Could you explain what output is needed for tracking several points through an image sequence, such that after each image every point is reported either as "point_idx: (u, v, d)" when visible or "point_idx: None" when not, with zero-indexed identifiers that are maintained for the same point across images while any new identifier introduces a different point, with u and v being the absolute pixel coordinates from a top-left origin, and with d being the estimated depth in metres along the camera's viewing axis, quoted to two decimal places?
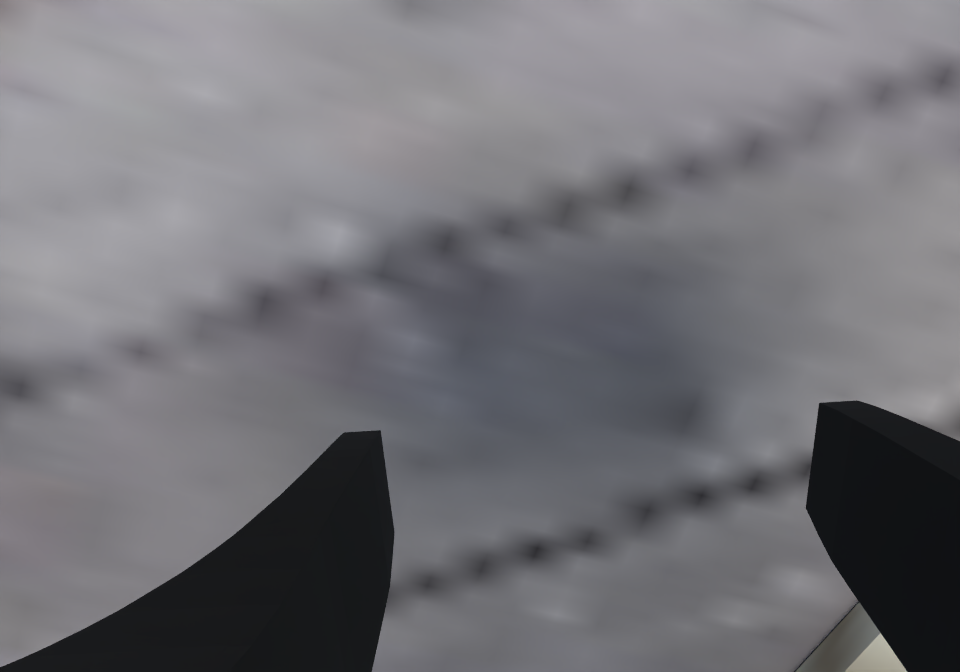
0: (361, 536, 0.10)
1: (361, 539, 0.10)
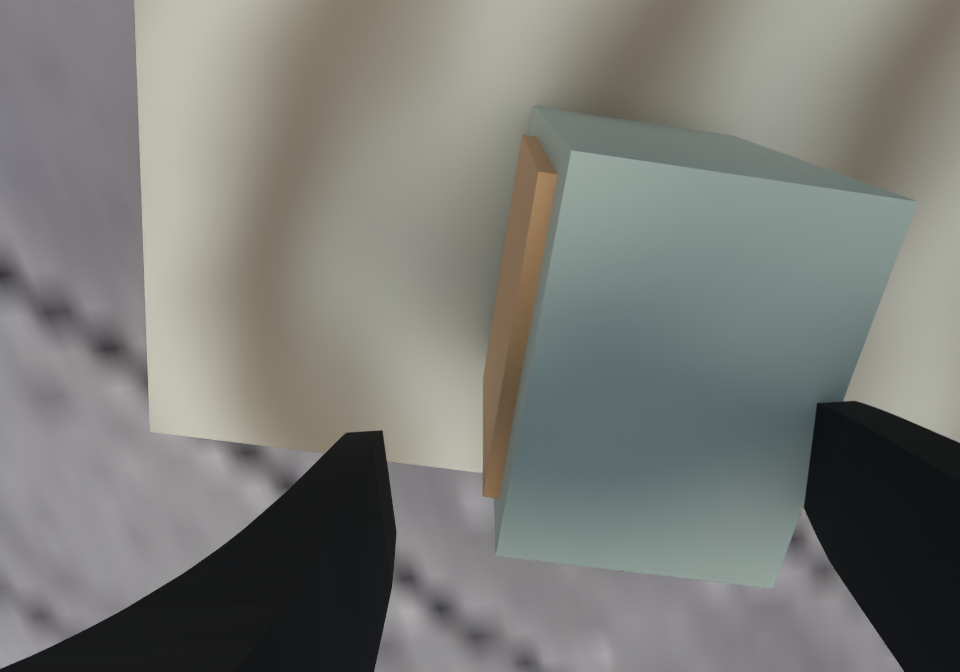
0: (364, 536, 0.10)
1: (364, 539, 0.10)
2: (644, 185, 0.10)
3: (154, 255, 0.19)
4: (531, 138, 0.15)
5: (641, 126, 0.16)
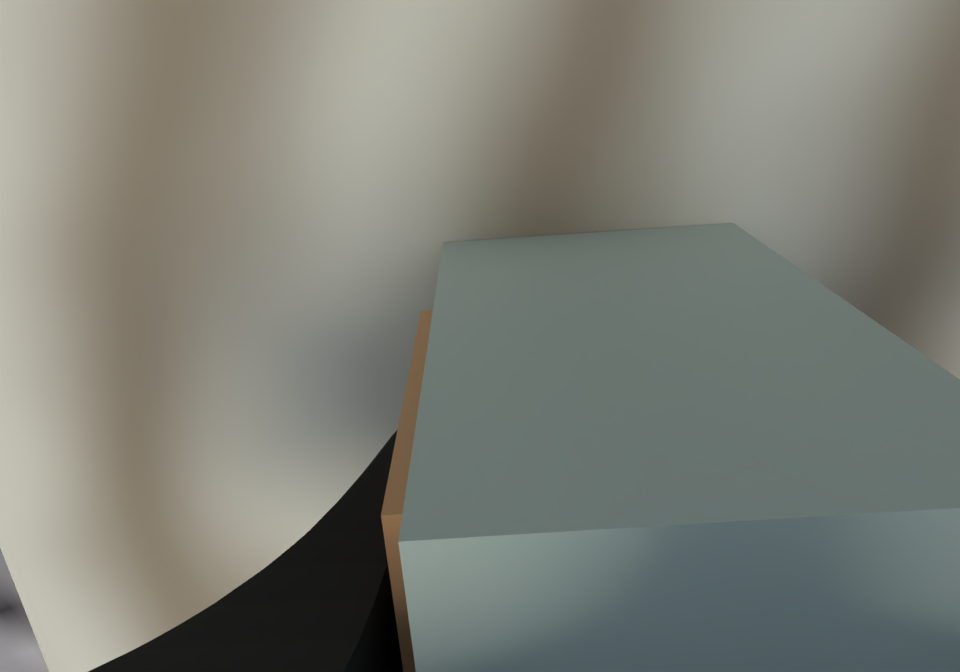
0: None
1: None
2: (559, 570, 0.05)
3: (3, 518, 0.14)
4: (430, 323, 0.10)
5: (593, 257, 0.11)
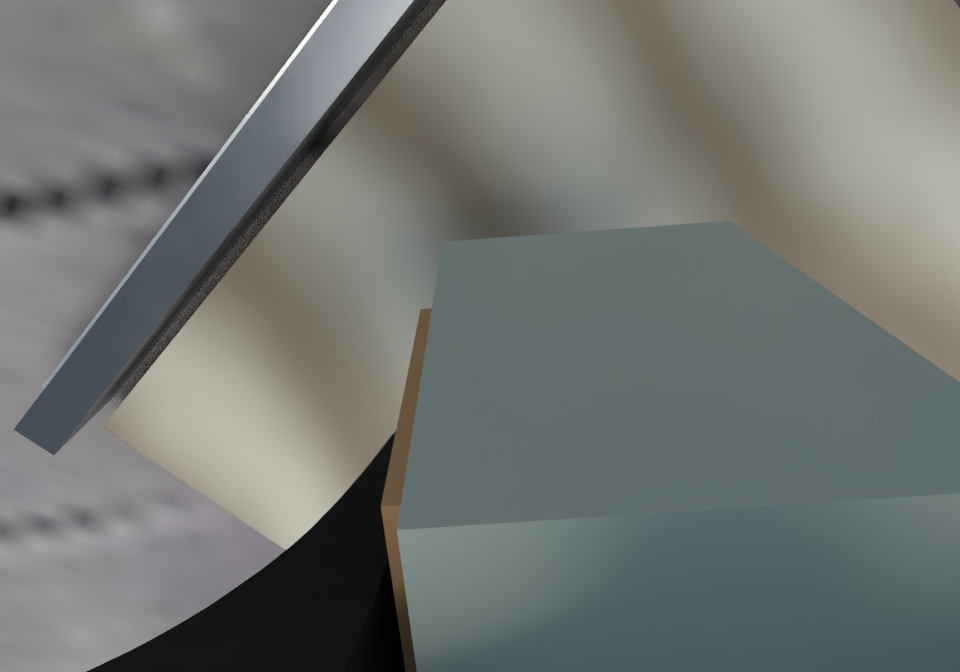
0: None
1: None
2: (552, 557, 0.05)
3: None
4: (429, 321, 0.10)
5: (590, 255, 0.11)
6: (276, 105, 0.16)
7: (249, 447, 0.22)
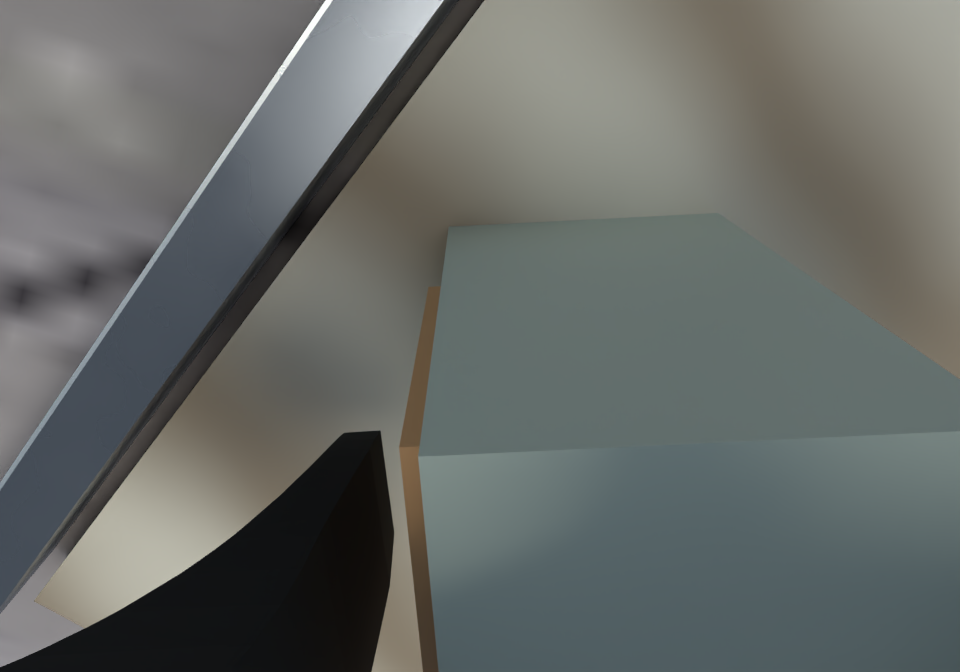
0: (361, 536, 0.10)
1: (362, 539, 0.10)
2: (554, 484, 0.06)
3: None
4: (437, 297, 0.11)
5: (587, 241, 0.12)
6: (222, 200, 0.11)
7: None
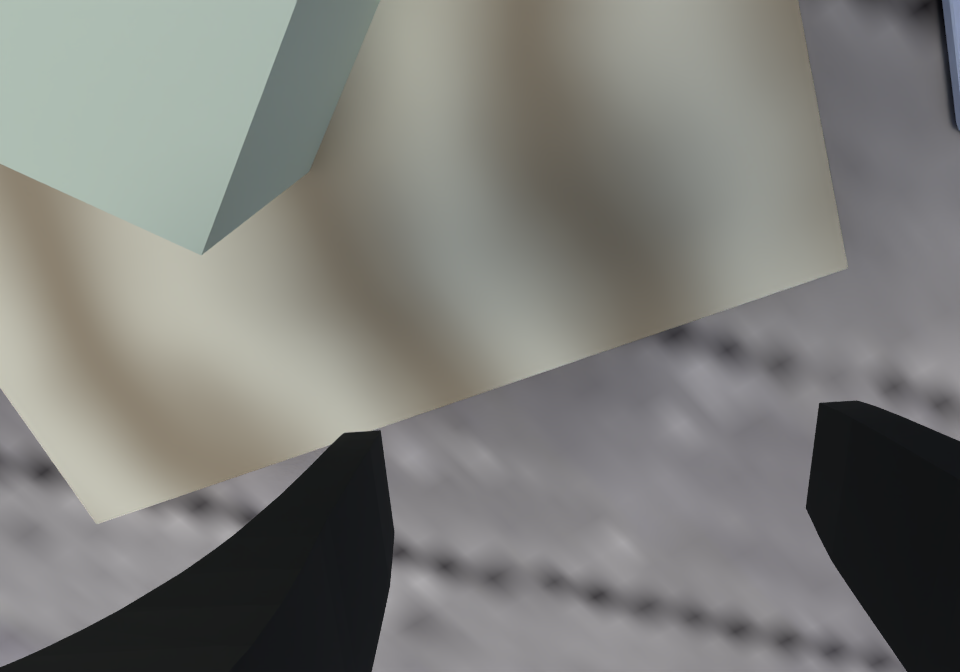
0: (361, 536, 0.10)
1: (361, 539, 0.10)
2: None
3: (4, 379, 0.21)
4: None
5: None
6: None
7: None
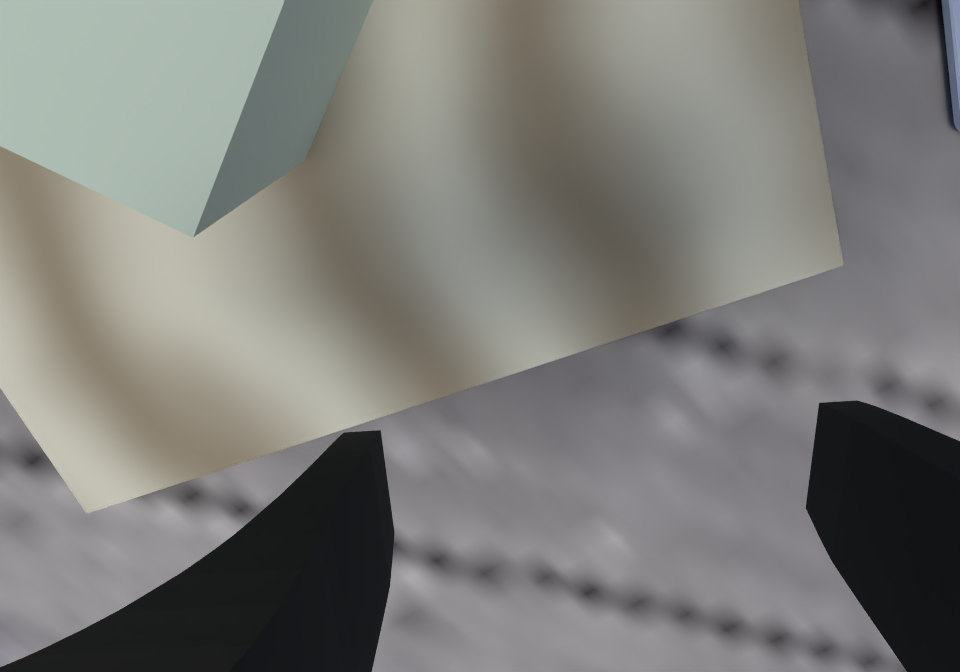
0: (361, 536, 0.10)
1: (361, 539, 0.10)
2: None
3: None
4: None
5: None
6: None
7: None
